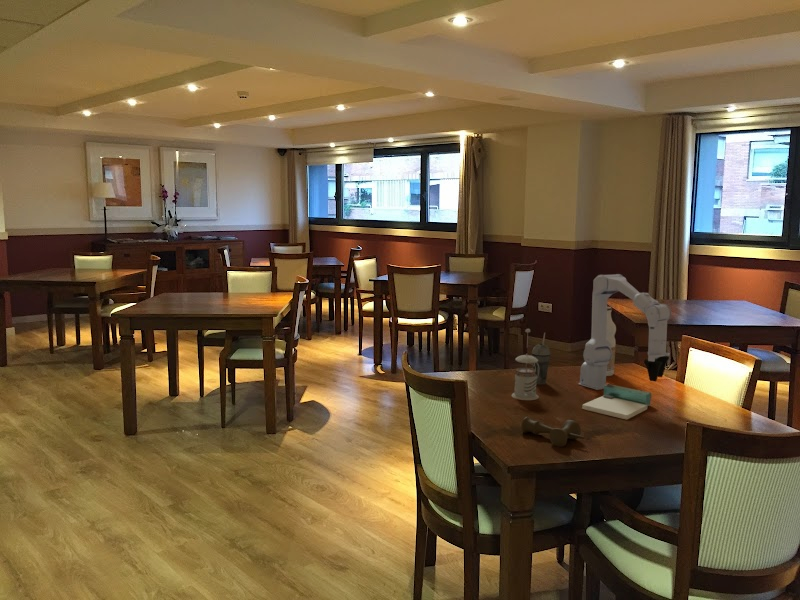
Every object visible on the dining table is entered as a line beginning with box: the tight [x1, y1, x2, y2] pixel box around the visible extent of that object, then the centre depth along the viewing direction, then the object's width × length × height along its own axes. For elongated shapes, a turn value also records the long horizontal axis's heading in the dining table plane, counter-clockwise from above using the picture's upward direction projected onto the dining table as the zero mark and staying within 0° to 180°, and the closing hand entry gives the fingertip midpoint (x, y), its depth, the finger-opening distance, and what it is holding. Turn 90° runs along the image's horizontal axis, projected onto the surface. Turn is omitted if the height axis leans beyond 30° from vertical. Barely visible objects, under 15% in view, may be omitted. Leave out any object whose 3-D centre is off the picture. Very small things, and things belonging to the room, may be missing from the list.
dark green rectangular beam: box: [603, 383, 652, 407], centre depth 236 cm, size 16×4×5 cm, turn 47°
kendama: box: [520, 416, 586, 448], centre depth 198 cm, size 6×10×20 cm
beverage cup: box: [531, 332, 551, 386], centre depth 259 cm, size 7×7×20 cm
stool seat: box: [581, 394, 648, 420], centre depth 228 cm, size 16×16×2 cm
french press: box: [511, 328, 539, 401], centre depth 241 cm, size 10×12×25 cm
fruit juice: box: [606, 306, 617, 377], centre depth 274 cm, size 9×9×28 cm
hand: (656, 378), depth 229 cm, fingers open, 7 cm apart
